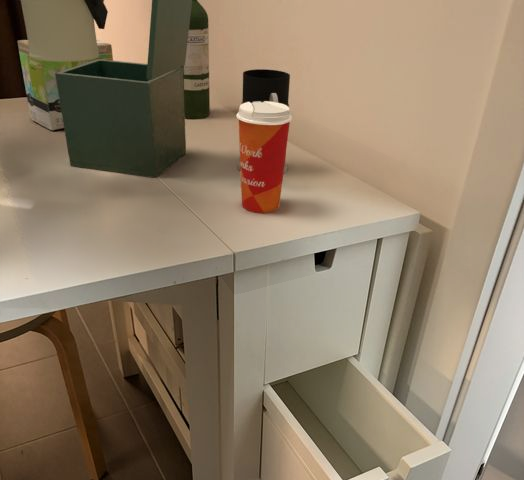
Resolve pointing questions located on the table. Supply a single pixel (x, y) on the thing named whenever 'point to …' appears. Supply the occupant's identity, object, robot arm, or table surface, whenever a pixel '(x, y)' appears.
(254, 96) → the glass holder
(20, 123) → the table surface
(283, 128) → the paper cup
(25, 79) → the tea box
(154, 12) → the lid
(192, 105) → the wine bottle
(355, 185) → the table surface
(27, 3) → the can
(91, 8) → the robot arm
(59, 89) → the dark green square box
